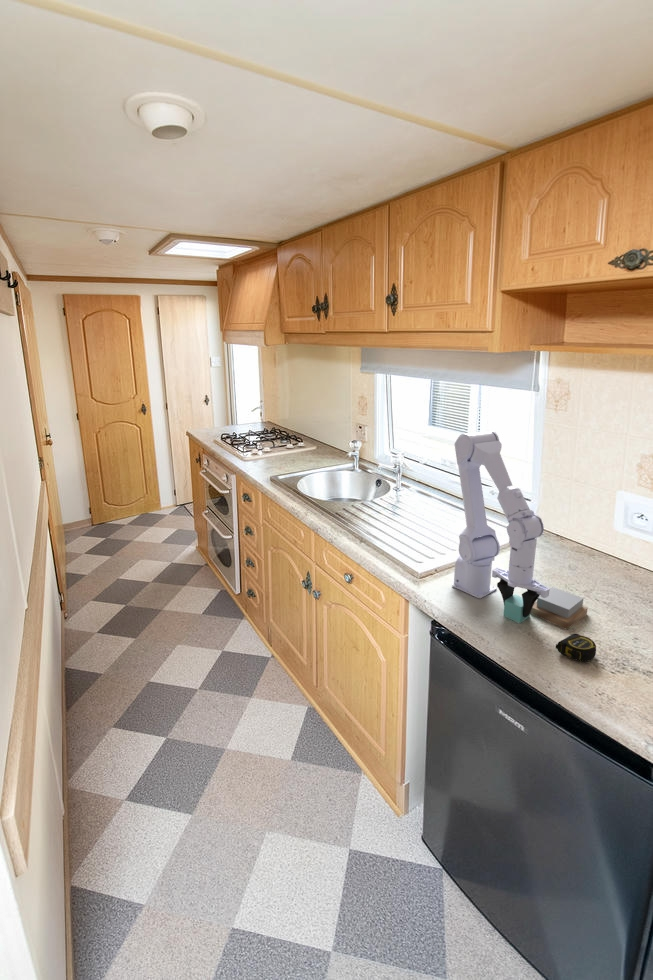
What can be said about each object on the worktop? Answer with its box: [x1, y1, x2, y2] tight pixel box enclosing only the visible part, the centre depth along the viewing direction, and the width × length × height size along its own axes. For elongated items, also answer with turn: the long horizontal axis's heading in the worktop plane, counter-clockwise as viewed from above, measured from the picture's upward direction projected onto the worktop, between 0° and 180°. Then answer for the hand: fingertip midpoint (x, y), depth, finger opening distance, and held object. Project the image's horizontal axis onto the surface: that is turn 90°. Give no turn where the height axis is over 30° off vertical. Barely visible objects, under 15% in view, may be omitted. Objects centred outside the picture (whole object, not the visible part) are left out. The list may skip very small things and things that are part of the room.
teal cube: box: [503, 594, 531, 624], centre depth 131 cm, size 4×4×4 cm
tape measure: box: [555, 633, 597, 663], centre depth 115 cm, size 7×7×4 cm
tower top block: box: [536, 586, 584, 619], centre depth 131 cm, size 8×8×2 cm
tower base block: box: [530, 601, 588, 630], centre depth 132 cm, size 10×10×2 cm
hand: (516, 611), depth 131 cm, fingers closed on teal cube, 4 cm apart
